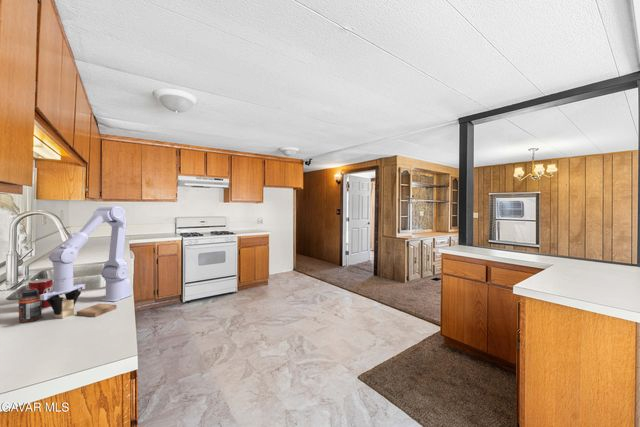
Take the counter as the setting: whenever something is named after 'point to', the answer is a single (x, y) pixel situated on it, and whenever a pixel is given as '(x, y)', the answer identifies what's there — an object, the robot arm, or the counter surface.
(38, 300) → the supplement bottle
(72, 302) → the beech block
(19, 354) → the counter surface
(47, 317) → the counter surface
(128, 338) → the counter surface
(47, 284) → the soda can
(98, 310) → the base
